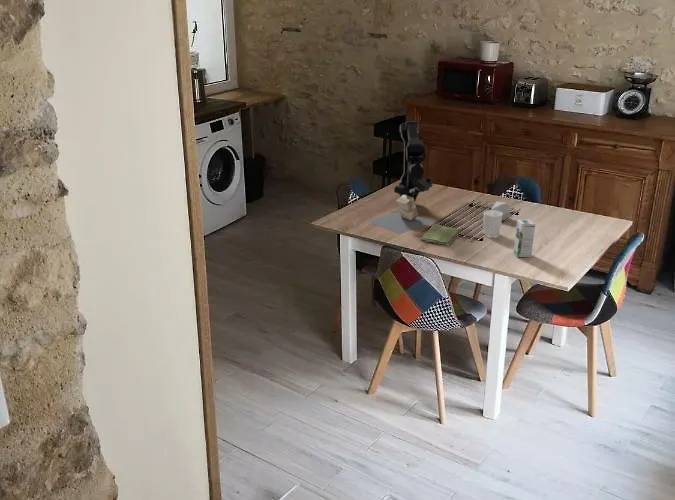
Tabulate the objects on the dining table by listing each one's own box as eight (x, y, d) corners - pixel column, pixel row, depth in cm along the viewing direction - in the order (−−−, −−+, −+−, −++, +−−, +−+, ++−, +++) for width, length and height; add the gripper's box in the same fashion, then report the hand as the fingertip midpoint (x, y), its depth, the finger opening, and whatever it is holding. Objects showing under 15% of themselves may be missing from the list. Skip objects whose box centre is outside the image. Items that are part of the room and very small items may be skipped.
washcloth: (419, 242, 296) (419, 235, 295) (432, 229, 311) (432, 222, 309) (449, 248, 291) (449, 240, 289) (461, 233, 305) (461, 226, 304)
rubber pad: (402, 212, 328) (402, 210, 328) (433, 224, 314) (434, 222, 314) (367, 223, 315) (367, 221, 315) (399, 236, 301) (399, 233, 301)
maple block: (408, 211, 320) (403, 194, 314) (418, 215, 316) (413, 197, 310) (401, 218, 318) (396, 200, 312) (411, 221, 314) (405, 204, 308)
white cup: (501, 232, 306) (503, 211, 302) (499, 239, 299) (501, 217, 295) (483, 230, 308) (485, 209, 304) (480, 236, 301) (482, 215, 297)
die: (511, 218, 324) (503, 199, 325) (514, 215, 315) (506, 196, 316) (494, 225, 324) (486, 206, 325) (497, 222, 315) (489, 202, 317)
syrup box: (512, 252, 286) (516, 219, 280) (527, 252, 286) (531, 218, 280) (517, 258, 280) (521, 224, 275) (531, 257, 281) (536, 223, 275)
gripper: (412, 179, 298) (411, 214, 304) (442, 171, 310) (439, 205, 316) (394, 173, 306) (392, 207, 312) (423, 166, 317) (421, 198, 323)
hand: (412, 204), depth 316 cm, fingers closed
